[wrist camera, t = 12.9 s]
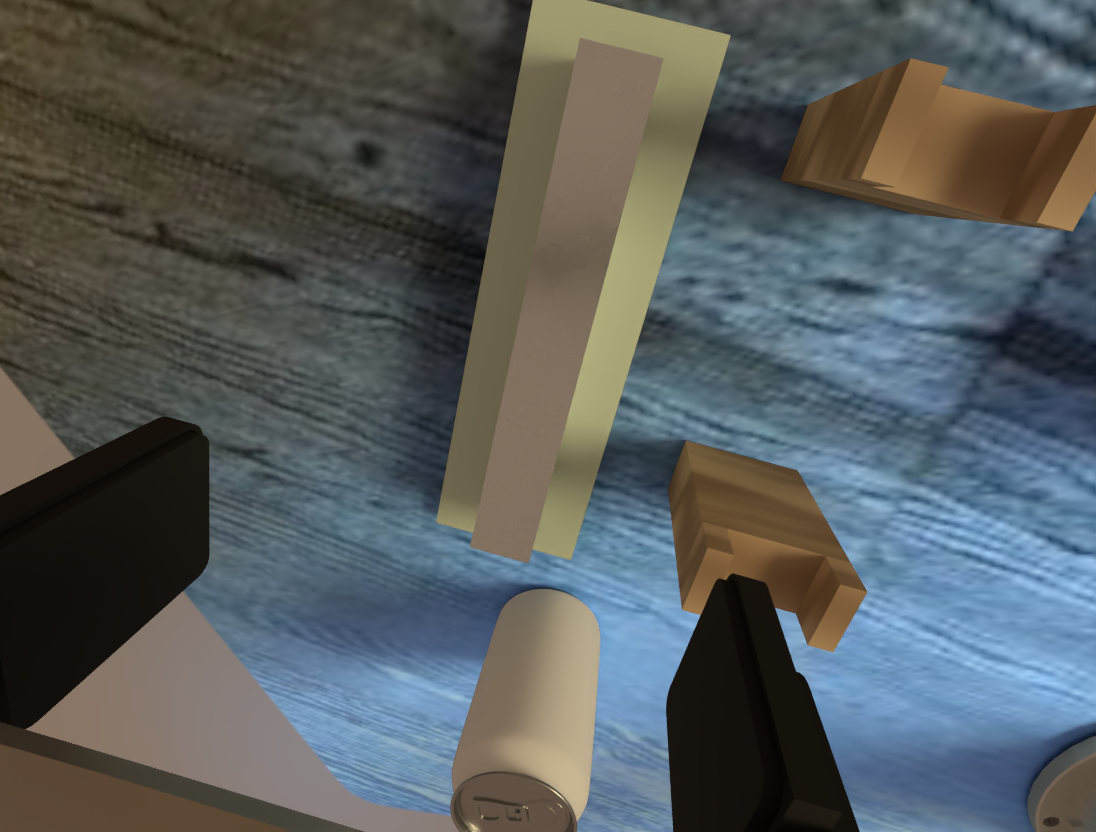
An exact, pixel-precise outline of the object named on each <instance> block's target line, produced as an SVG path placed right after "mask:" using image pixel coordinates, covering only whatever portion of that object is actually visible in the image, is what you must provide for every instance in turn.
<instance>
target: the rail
mask: <svg viewBox="0 0 1096 832" xmlns="http://www.w3.org/2000/svg"><path fill="white" fill-rule="evenodd" d="M663 59H664V58H661V57H657V56H653V55H649V54H644V53H640V52H636V51H632V50H628V49H624V48H620V47H616V46H612V45H608V44H603V43H599V42H595V41H591V40H587V39H583V38H580V40H579V44H578V49H577V53H576V58H575V63H574V67H573V72H572V77H571V81H570V86H569V91H568V95H567V100H566V104H565V109H564V114H563V118H562V123H561V128H560V132H559V137H558V142H557V146H556V151H555V156H554V160H553V165H552V169H551V174H550V179H549V183H548V188H547V193H546V197H545V202H544V207H543V211H542V216H541V220H540V225H539V230H538V234H537V239H536V244H535V248H534V253H533V258H532V262H531V267H530V272H529V276H528V281H527V285H526V290H525V295H524V299H523V304H522V309H521V313H520V318H519V323H518V327H517V332H516V336H515V341H514V346H513V350H512V355H511V360H510V364H509V369H508V374H507V378H506V383H505V388H504V392H503V397H502V401H501V406H500V411H499V415H498V420H497V425H496V429H495V434H494V439H493V443H492V448H491V452H490V457H489V462H488V466H487V471H486V476H485V480H484V485H483V490H482V494H481V499H480V504H479V508H478V513H477V517H476V522H475V527H474V531H473V536H472V541H471V545H470V547H472V548H475V549H479V550H482V551H486V552H490V553H493V554H497V555H500V556H504V557H508V558H511V559H515V560H518V561H522V562H525V563H529V560H530V556H531V553H532V549H533V545H534V542H535V538H536V534H537V531H538V527H539V523H540V520H541V516H542V512H543V509H544V505H545V501H546V497H547V494H548V490H549V486H550V482H551V479H552V475H553V471H554V468H555V464H556V460H557V456H558V453H559V449H560V445H561V441H562V438H563V434H564V430H565V426H566V423H567V419H568V415H569V412H570V408H571V404H572V400H573V397H574V393H575V389H576V385H577V382H578V378H579V374H580V370H581V367H582V363H583V359H584V356H585V352H586V348H587V344H588V341H589V337H590V333H591V329H592V326H593V322H594V318H595V314H596V311H597V307H598V303H599V300H600V296H601V292H602V288H603V285H604V281H605V277H606V273H607V270H608V266H609V262H610V258H611V255H612V251H613V247H614V244H615V240H616V236H617V232H618V229H619V225H620V221H621V217H622V214H623V210H624V206H625V202H626V199H627V195H628V191H629V188H630V184H631V180H632V176H633V173H634V169H635V165H636V161H637V158H638V154H639V150H640V146H641V143H642V139H643V135H644V132H645V128H646V124H647V120H648V117H649V113H650V109H651V105H652V102H653V98H654V94H655V90H656V87H657V83H658V79H659V75H660V71H661V67H662V63H663Z"/></svg>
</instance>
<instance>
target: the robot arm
mask: <svg viewBox="0 0 1096 832" xmlns="http://www.w3.org/2000/svg"><path fill="white" fill-rule="evenodd" d="M208 560H209V440H208V439H207V437H206V436H204V435H203V433H202V430H201V428H200V427H199V426H197V425H195V424H192V423H188V422H184V421H181V420H177V419H173V418H170V417H161V418H158V419H156V420H154V421H152V422H149V423H147V424H145V425H143V426H141V427H139V428H137V429H135V430H133V431H131V432H129V433H127V434H125V435H123V436H121V437H119V438H117V439H115V440H113V441H111V442H108V443H106V444H104V445H102V446H100V447H98V448H96V449H94V450H92V451H90V452H88V453H86V454H84V455H82V456H80V457H78V458H76V459H74V460H72V461H70V462H68V463H66V464H63V465H62V466H60V467H57V468H55V469H53V470H51V471H49V472H47V473H45V474H43V475H41V476H39V477H37V478H35V479H33V480H31V481H29V482H27V483H25V484H22V485H21V486H18V487H16V488H14V489H12V490H10V491H8V492H6V493H4V494H2V495H0V832H363V831H360V830H357V829H353V828H350V827H347V826H344V825H341V824H337V823H334V822H331V821H327V820H324V819H321V818H318V817H314V816H311V815H308V814H304V813H301V812H298V811H295V810H291V809H288V808H285V807H281V806H278V805H275V804H271V803H268V802H265V801H262V800H258V799H255V798H251V797H248V796H245V795H242V794H239V793H235V792H232V791H228V790H225V789H222V788H219V787H216V786H212V785H209V784H205V783H202V782H199V781H196V780H192V779H189V778H186V777H182V776H179V775H176V774H173V773H169V772H166V771H162V770H159V769H156V768H152V767H149V766H146V765H143V764H139V763H136V762H132V761H129V760H126V759H122V758H119V757H116V756H112V755H109V754H105V753H102V752H99V751H95V750H92V749H89V748H85V747H82V746H79V745H75V744H72V743H69V742H65V741H62V740H59V739H55V738H52V737H48V736H45V735H41V734H38V733H34V732H31V731H28V730H25V729H26V728H29V727H30V726H32V725H33V724H34V723H36V722H37V721H38V720H39V719H40V718H42V717H43V716H44V715H45V714H46V713H47V712H48V711H50V710H51V709H52V708H53V707H54V706H55V705H56V704H57V703H58V702H60V701H61V700H62V699H63V698H64V697H65V696H66V695H67V694H68V693H70V692H71V691H72V690H73V689H74V688H75V687H76V686H77V685H79V684H80V683H81V682H82V681H83V680H84V679H85V678H86V677H87V676H89V675H90V674H91V673H92V672H93V671H94V670H95V669H96V668H98V666H100V665H101V664H102V663H103V662H104V661H105V660H106V659H108V658H109V657H110V656H111V655H112V654H113V653H114V652H115V651H116V650H118V649H119V648H120V647H121V646H122V645H123V644H124V643H125V642H126V641H128V640H129V639H130V638H131V637H132V636H133V635H134V634H135V633H137V632H138V631H139V630H140V629H141V628H142V627H143V626H144V625H145V624H146V623H148V622H149V621H150V620H151V619H152V618H153V617H154V616H155V615H157V614H158V613H159V612H160V611H161V610H162V609H163V608H164V607H166V606H167V605H168V604H169V603H170V602H171V601H172V600H173V599H174V598H175V597H176V596H178V595H179V594H180V593H181V592H182V591H183V590H184V589H186V588H187V587H188V586H189V585H190V584H191V583H192V582H193V581H195V580H196V579H197V578H198V577H199V576H200V575H201V574H202V572H203V571H204V569H205V568H206V566H207V563H208ZM666 717H667V734H668V750H669V767H670V784H671V801H672V818H673V832H860V831H859V829H858V826H857V823H856V820H855V817H854V814H853V811H852V808H851V806H850V803H849V800H848V797H847V794H846V791H845V788H844V785H843V783H842V780H841V777H840V774H839V771H838V768H837V765H836V762H835V760H834V757H833V754H832V751H831V748H830V745H829V742H828V739H827V737H826V734H825V731H824V728H823V725H822V722H821V719H820V716H819V714H818V711H817V708H816V705H815V702H814V699H813V696H812V693H811V690H810V688H809V685H808V683H807V681H806V679H805V677H804V676H803V675H801V674H800V673H798V672H796V670H795V667H794V664H793V661H792V658H791V655H790V652H789V649H788V646H787V643H786V640H785V637H784V634H783V631H782V628H781V625H780V622H779V619H778V616H777V613H776V610H775V607H774V604H773V601H772V598H771V595H770V592H769V589H768V586H767V584H766V583H765V582H763V581H759V580H756V579H752V578H748V577H745V576H741V575H738V574H734V573H732V574H730V575H729V576H728V578H727V579H726V580H724V579H720V578H719V579H717V580H716V582H715V583H714V585H713V588H712V590H711V592H710V595H709V597H708V599H707V602H706V604H705V606H704V609H703V611H702V614H701V616H700V618H699V621H698V623H697V625H696V628H695V630H694V632H693V635H692V637H691V639H690V642H689V644H688V646H687V649H686V651H685V653H684V656H683V658H682V660H681V663H680V665H679V667H678V670H677V672H676V674H675V677H674V679H673V681H672V684H671V686H670V689H669V692H668V696H667V703H666ZM1027 812H1028V816H1029V820H1030V823H1031V825H1032V827H1033V829H1034V830H1035V832H1096V735H1095V736H1092V737H1090V738H1088V739H1086V740H1084V741H1082V742H1079V743H1077V744H1075V745H1073V746H1071V747H1070V748H1068V749H1067V750H1065V751H1064V752H1062V753H1061V754H1060V755H1058V756H1057V757H1055V758H1054V759H1053V760H1052V761H1051V762H1050V763H1049V764H1048V765H1047V766H1046V767H1045V768H1044V769H1043V770H1042V771H1041V773H1040V774H1039V775H1038V777H1037V778H1036V780H1035V781H1034V783H1033V785H1032V788H1031V790H1030V793H1029V796H1028V805H1027Z"/></svg>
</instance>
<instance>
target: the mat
mask: <svg viewBox="0 0 1096 832" xmlns="http://www.w3.org/2000/svg"><path fill="white" fill-rule="evenodd" d="M730 36H731V35H727V34H723V33H719V32H715V31H711V30H707V29H703V28H699V27H694V26H690V25H686V24H682V23H678V22H674V21H670V20H666V19H662V18H657V17H653V16H649V15H645V14H641V13H637V12H633V11H629V10H625V9H620V8H616V7H612V6H608V5H604V4H600V3H596V2H592V1H588V0H533V3H532V8H531V14H530V19H529V24H528V30H527V35H526V40H525V46H524V51H523V57H522V62H521V67H520V73H519V78H518V84H517V89H516V94H515V100H514V105H513V111H512V116H511V121H510V127H509V132H508V138H507V143H506V148H505V154H504V159H503V164H502V170H501V175H500V181H499V186H498V191H497V197H496V202H495V208H494V213H493V218H492V224H491V229H490V235H489V240H488V245H487V251H486V256H485V261H484V267H483V272H482V278H481V283H480V288H479V294H478V299H477V305H476V310H475V315H474V321H473V326H472V332H471V337H470V342H469V348H468V353H467V358H466V364H465V369H464V375H463V380H462V385H461V391H460V396H459V402H458V407H457V412H456V418H455V423H454V429H453V434H452V439H451V445H450V450H449V455H448V461H447V466H446V472H445V477H444V482H443V488H442V493H441V499H440V504H439V509H438V515H437V520H436V522H437V523H440V524H444V525H447V526H451V527H454V528H458V529H462V530H465V531H469V532H472V533H473V531H474V527H475V522H476V517H477V513H478V508H479V504H480V499H481V494H482V490H483V485H484V480H485V476H486V471H487V466H488V462H489V457H490V452H491V448H492V443H493V439H494V434H495V429H496V425H497V420H498V415H499V411H500V406H501V401H502V397H503V392H504V388H505V383H506V378H507V374H508V369H509V364H510V360H511V355H512V350H513V346H514V341H515V336H516V332H517V327H518V323H519V318H520V313H521V309H522V304H523V299H524V295H525V290H526V285H527V281H528V276H529V272H530V267H531V262H532V258H533V253H534V248H535V244H536V239H537V234H538V230H539V225H540V220H541V216H542V211H543V207H544V202H545V197H546V193H547V188H548V183H549V179H550V174H551V169H552V165H553V160H554V156H555V151H556V146H557V142H558V137H559V132H560V128H561V123H562V118H563V114H564V109H565V104H566V100H567V95H568V91H569V86H570V81H571V77H572V72H573V67H574V63H575V58H576V53H577V49H578V44H579V40H580V38H583V39H587V40H591V41H595V42H599V43H603V44H608V45H612V46H616V47H620V48H624V49H628V50H632V51H636V52H640V53H644V54H649V55H653V56H657V57H661V58H664V59H663V63H662V67H661V71H660V75H659V79H658V83H657V87H656V90H655V94H654V98H653V102H652V105H651V109H650V113H649V117H648V120H647V124H646V128H645V132H644V135H643V139H642V143H641V146H640V150H639V154H638V158H637V161H636V165H635V169H634V173H633V176H632V180H631V184H630V188H629V191H628V195H627V199H626V202H625V206H624V210H623V214H622V217H621V221H620V225H619V229H618V232H617V236H616V240H615V244H614V247H613V251H612V255H611V258H610V262H609V266H608V270H607V273H606V277H605V281H604V285H603V288H602V292H601V296H600V300H599V303H598V307H597V311H596V314H595V318H594V322H593V326H592V329H591V333H590V337H589V341H588V344H587V348H586V352H585V356H584V359H583V363H582V367H581V370H580V374H579V378H578V382H577V385H576V389H575V393H574V397H573V400H572V404H571V408H570V412H569V415H568V419H567V423H566V426H565V430H564V434H563V438H562V441H561V445H560V449H559V453H558V456H557V460H556V464H555V468H554V471H553V475H552V479H551V482H550V486H549V490H548V494H547V497H546V501H545V505H544V509H543V512H542V516H541V520H540V523H539V527H538V531H537V534H536V538H535V542H534V545H533V550H537V551H540V552H544V553H547V554H551V555H555V556H558V557H562V558H565V559H569V560H571V558H572V555H573V551H574V548H575V545H576V542H577V538H578V535H579V532H580V528H581V525H582V522H583V519H584V515H585V512H586V509H587V505H588V502H589V499H590V496H591V492H592V489H593V486H594V483H595V479H596V476H597V473H598V469H599V466H600V463H601V460H602V456H603V453H604V450H605V446H606V443H607V440H608V437H609V433H610V430H611V427H612V423H613V420H614V417H615V414H616V410H617V407H618V404H619V400H620V397H621V394H622V391H623V387H624V384H625V381H626V377H627V374H628V371H629V368H630V364H631V361H632V358H633V354H634V351H635V348H636V345H637V341H638V338H639V335H640V331H641V328H642V325H643V322H644V318H645V315H646V312H647V308H648V305H649V302H650V299H651V295H652V292H653V289H654V285H655V282H656V279H657V276H658V272H659V269H660V266H661V263H662V259H663V256H664V253H665V249H666V246H667V243H668V240H669V236H670V233H671V230H672V226H673V223H674V220H675V217H676V213H677V210H678V207H679V203H680V200H681V197H682V194H683V190H684V187H685V184H686V180H687V177H688V174H689V171H690V167H691V164H692V161H693V157H694V154H695V151H696V148H697V144H698V141H699V138H700V134H701V131H702V128H703V125H704V121H705V118H706V115H707V111H708V108H709V105H710V102H711V98H712V95H713V92H714V88H715V85H716V82H717V79H718V75H719V72H720V69H721V66H722V62H723V59H724V56H725V52H726V49H727V46H728V43H729V39H730Z"/></svg>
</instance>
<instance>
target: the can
mask: <svg viewBox="0 0 1096 832" xmlns="http://www.w3.org/2000/svg"><path fill="white" fill-rule="evenodd" d="M599 655H600V630H599V626H598V623H597V620H596V618H595V616H594V615H593V613H592V612H591V610H590V609H589V608H588V607H587V606H586V605H585V604H584V603H582V602H581V601H580V600H578V599H577V598H575V597H573V596H572V595H570V594H567V593H565V592H562V591H559V590H554V589H534V590H529V591H526V592H523V593H520V594H518V595H516V596H515V597H513V598H512V599H510V600H509V601H508V602H507V603H506V604H505V605H504V607H503V608H502V610H501V612H500V614H499V617H498V620H497V623H496V626H495V629H494V632H493V635H492V638H491V641H490V644H489V648H488V651H487V654H486V657H485V660H484V664H483V667H482V670H481V673H480V676H479V680H478V683H477V686H476V689H475V692H474V696H473V699H472V702H471V705H470V709H469V712H468V715H467V718H466V722H465V725H464V728H463V731H462V735H461V738H460V741H459V745H458V748H457V751H456V755H455V759H454V763H453V768H452V784H453V791H454V794H453V797H452V800H451V807H450V809H451V816H452V819H453V821H454V824H455V825H456V827H457V829H458V830H459V832H577V822H578V820H579V818H580V817H581V815H582V813H583V811H584V809H585V807H586V804H587V801H588V795H589V788H590V777H591V765H592V752H593V739H594V726H595V712H596V699H597V685H598V670H599Z"/></svg>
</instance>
